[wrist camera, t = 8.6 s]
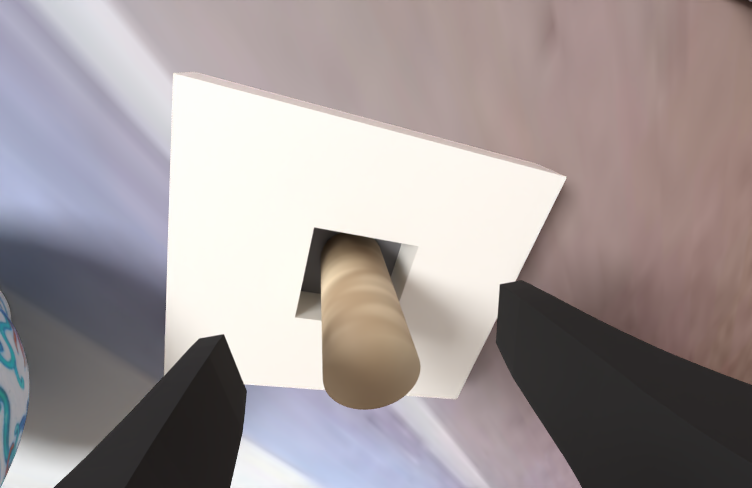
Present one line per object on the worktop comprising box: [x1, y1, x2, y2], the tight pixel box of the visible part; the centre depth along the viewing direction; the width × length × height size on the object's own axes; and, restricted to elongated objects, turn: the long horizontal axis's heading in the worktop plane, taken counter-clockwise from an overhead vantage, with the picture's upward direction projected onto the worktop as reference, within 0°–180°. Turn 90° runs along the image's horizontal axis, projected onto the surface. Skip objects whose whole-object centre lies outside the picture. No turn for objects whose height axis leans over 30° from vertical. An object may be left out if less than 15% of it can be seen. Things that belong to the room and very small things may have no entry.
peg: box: [320, 232, 421, 410], centre depth 15 cm, size 3×3×8 cm
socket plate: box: [164, 72, 567, 399], centre depth 18 cm, size 16×14×2 cm
